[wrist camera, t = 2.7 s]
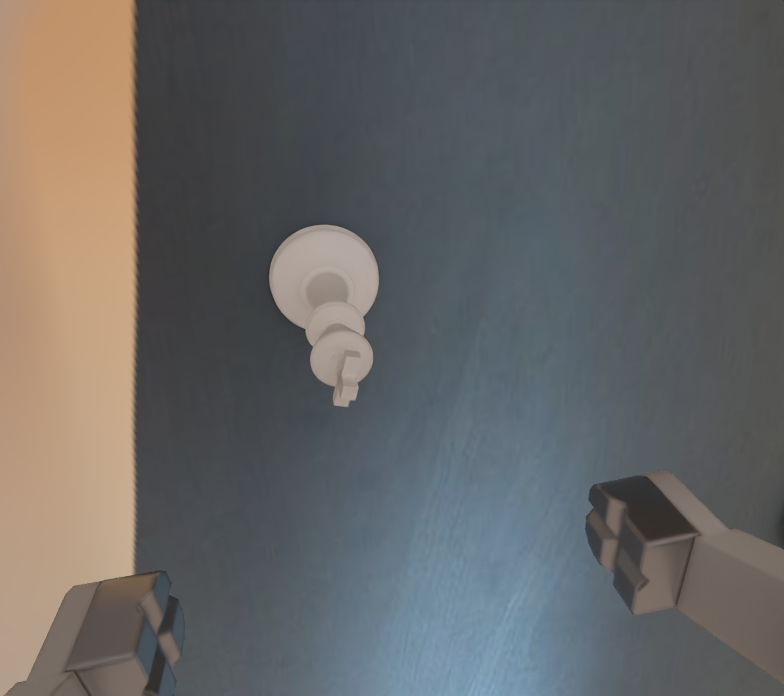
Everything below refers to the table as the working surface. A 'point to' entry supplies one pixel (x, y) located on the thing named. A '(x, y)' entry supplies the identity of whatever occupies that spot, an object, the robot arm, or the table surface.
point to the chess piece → (329, 301)
